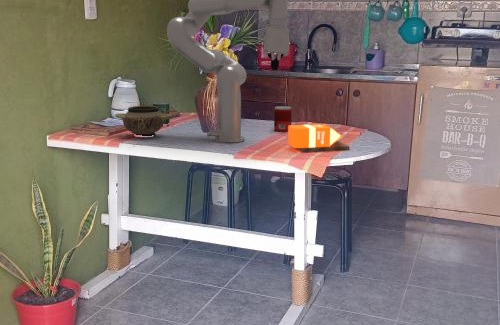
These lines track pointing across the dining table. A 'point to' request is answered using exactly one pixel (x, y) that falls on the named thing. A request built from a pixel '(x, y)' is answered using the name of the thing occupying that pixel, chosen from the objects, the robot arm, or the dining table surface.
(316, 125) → the orange juice
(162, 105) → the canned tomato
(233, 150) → the dining table surface
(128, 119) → the ceramic bowl
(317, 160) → the dining table surface
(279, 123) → the canned food
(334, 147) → the walnut board
